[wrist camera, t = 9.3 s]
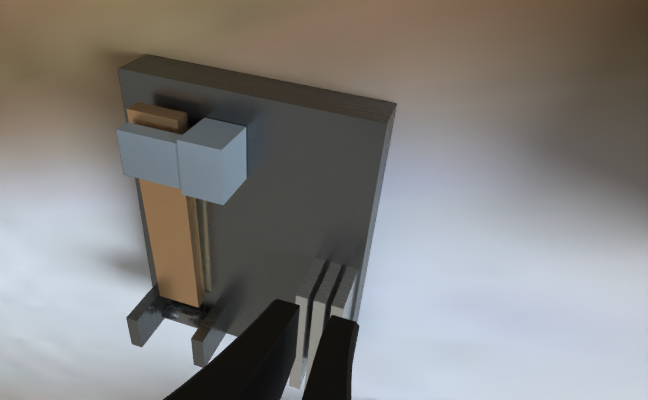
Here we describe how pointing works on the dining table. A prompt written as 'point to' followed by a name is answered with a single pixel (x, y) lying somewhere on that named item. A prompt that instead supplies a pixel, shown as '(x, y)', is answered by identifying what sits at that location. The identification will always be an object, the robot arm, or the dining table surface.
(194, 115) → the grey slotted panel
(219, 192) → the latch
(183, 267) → the strap
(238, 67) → the dining table surface
